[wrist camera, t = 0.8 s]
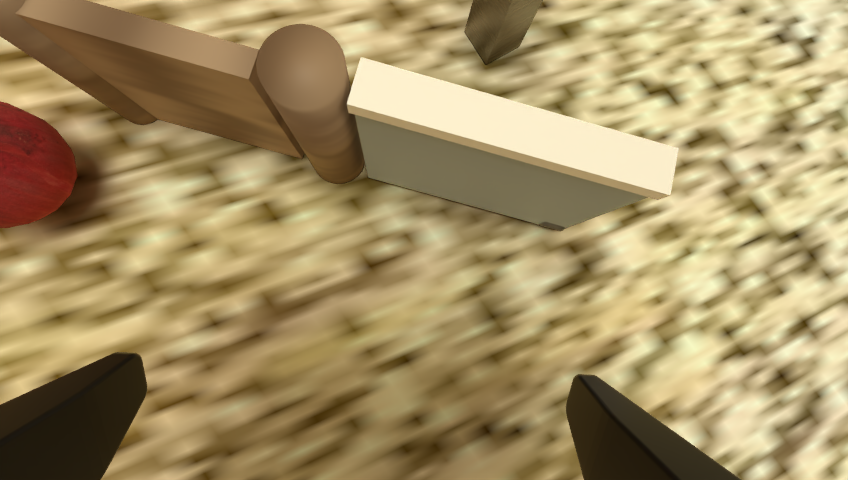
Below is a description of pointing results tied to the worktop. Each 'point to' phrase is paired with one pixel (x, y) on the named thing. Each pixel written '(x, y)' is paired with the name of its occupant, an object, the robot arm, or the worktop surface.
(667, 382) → the worktop surface
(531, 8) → the stile
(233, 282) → the worktop surface
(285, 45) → the fence
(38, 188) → the onion
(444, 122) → the cream flat slab
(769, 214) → the worktop surface
